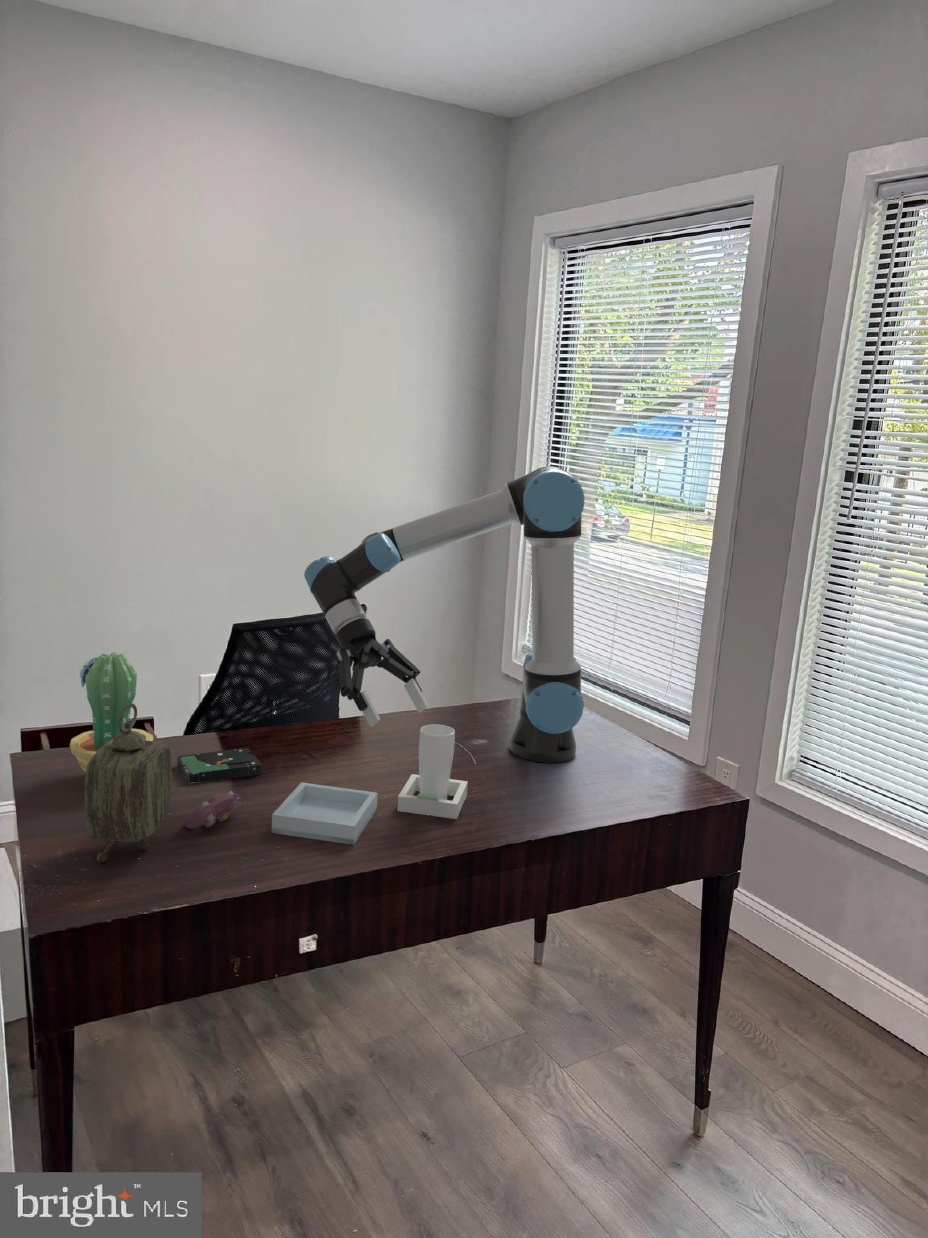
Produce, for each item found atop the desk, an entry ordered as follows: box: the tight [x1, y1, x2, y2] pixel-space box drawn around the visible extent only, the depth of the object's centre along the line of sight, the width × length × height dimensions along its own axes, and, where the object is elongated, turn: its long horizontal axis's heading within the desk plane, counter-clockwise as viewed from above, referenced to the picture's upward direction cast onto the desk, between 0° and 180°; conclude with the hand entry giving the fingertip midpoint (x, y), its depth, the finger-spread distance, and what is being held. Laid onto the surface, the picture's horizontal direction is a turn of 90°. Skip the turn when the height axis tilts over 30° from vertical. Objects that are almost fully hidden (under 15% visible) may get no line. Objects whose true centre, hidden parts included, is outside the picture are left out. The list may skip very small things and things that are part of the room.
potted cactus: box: [69, 652, 154, 774], centre depth 177 cm, size 15×15×25 cm
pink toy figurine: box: [182, 790, 243, 830], centre depth 164 cm, size 10×5×7 cm, turn 148°
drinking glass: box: [418, 723, 456, 800], centre depth 178 cm, size 7×7×15 cm
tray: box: [271, 782, 379, 846], centre depth 168 cm, size 15×15×4 cm
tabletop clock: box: [84, 702, 172, 864], centre depth 151 cm, size 14×9×25 cm, turn 178°
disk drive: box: [177, 747, 263, 783], centre depth 188 cm, size 10×3×15 cm
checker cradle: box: [396, 773, 469, 820], centre depth 179 cm, size 11×11×4 cm
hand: (400, 716), depth 181 cm, fingers open, 13 cm apart
